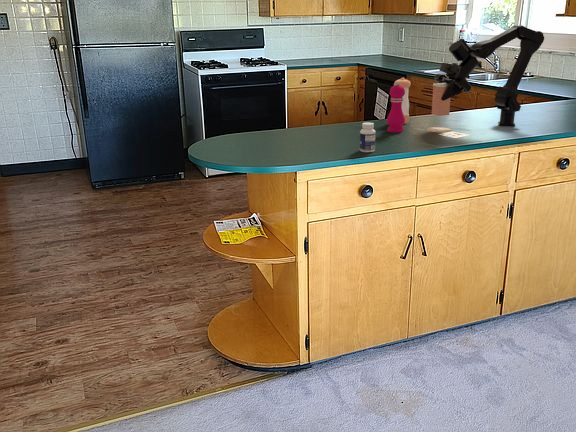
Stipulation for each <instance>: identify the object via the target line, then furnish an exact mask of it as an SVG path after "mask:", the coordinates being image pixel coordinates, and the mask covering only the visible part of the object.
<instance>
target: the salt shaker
mask: <svg viewBox="0 0 576 432" xmlns="http://www.w3.org/2000/svg"><path fill="white" fill-rule="evenodd" d="M397 81H399V82H400V86H402V87H404V89H405V94H404V96H403V97H402V98H403V102H402V111H403V114H404V117H405V123H404V124H403V125H405V124H409V123H410V114H409V112H410V111H409V110H410V101H409V88H411V80H408V79H406V78H405V77H401V78H400V79H397V80H395V81H394V83H393V86H395V85H396V82H397Z"/></svg>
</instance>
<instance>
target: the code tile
mask: <svg viewBox="0 0 576 432" xmlns="http://www.w3.org/2000/svg"><path fill="white" fill-rule="evenodd" d="M437 135H438V136H439V135H440V136H443V137H448V138H452V139H453V138H454V139H458V138H462V137H468V136H469V134H468V133H464V132H458V131H453V130H452V131H451V132H444V133H437Z"/></svg>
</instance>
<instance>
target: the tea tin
mask: <svg viewBox="0 0 576 432" xmlns="http://www.w3.org/2000/svg"><path fill="white" fill-rule="evenodd" d="M449 87H450V84H448V83H438V82H437V83H435V82H434V83H433V84H432V98H431V99H432V102H431V115H434V116H438V117H442V116H450V108H451V98H449V99H446V100H444V101H442V97H443V96H444V94H445V93H446V92H447V90H448V89H449Z"/></svg>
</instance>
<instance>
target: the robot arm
mask: <svg viewBox="0 0 576 432" xmlns="http://www.w3.org/2000/svg"><path fill="white" fill-rule="evenodd" d="M515 39H518V40H520V41H519V42H520V43H519V47H520V48H519V49H520V50H519V53H518V55H517V58H516V60H515V63H514V65H513V67H512V69H511V71H510V73H509V76H508V78H507V81H506V83H505V84H504V85H503V86H497V87H498V88H497V90H496V93H494V96H495V97H494V102H495V105H496V109H498V110H500V113H499V114H500V115H499V121H497V124H498V126H507V127H508V126H510V127H511V126H512V127H515V126H516V124H515V117H516V115H515V114H516V112H520V110H521V108H522V106H521V104H520V103H519V101H518V100H517V99H518V97H519V92H518V91H519V90H518V87H519V84H521V81H522V79H523V76H524V74H525V72H526V70H527V68H528V66H529V63H530V61H531V58H532V56H533V55H534V54H535V53H536V52H538V50H539V49H540V48H541V46H543V45H542V44H544V40H545V36H544V33H543V32H542V31H541V30H534V29H532V28H528V27H526V26H524V25H518V24H517V25H516V24H515V25H513V26H511V27H510V28H508V29H506V30H505V31H503V32H500V33H499V34H498V35H495V36H494V37H492V38H490V39H486V40H481V41H478V42H475V43H473V44H472V45H471V46H469V45H468V44H467V42H466V40H465V38H460V39H459V40H457V41H455V42H453V43H452V44H450V46H449V48H448V51H449V52H450V54H451V55H452V57H453V58H454V59H455V60H456V61H457V62H460V63H459V64H458V63H456V62H452V63H448V62H442V63H441V65H440V68H439V72H443V73H445V74H442V73H436V75H435V76H434V77H433V78H434V80H435V81H436V82H437V83H448V84H450V87H449V89H448V90H447V92H446V93H445V94H444V96H443V97H442V101H444V100H446V99H449V98H450V99H451V98H453V97H455V96H457V95H460V94H463V93H466V94H469V92H471V90H472V87H473V86H472V84H470V82H469V80H467V79H470V78H471V76H470V75H471V73H472V72H473V71H474V70H475V69H482V67H483V66H482V61H481V60H478V59H483V60H484V59H487V58H489V57H490V56H491V55H493V53H494V52H495V51H496V50H497V49H498V48H501V47H502V46H504V45H506V44H508V43H510V42H511V41H513V40H515Z"/></svg>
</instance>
